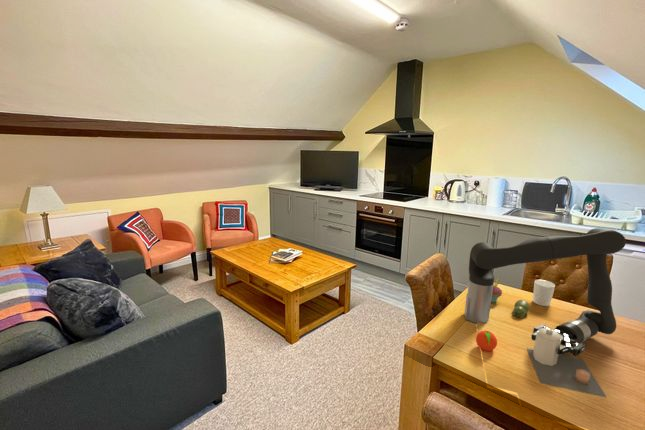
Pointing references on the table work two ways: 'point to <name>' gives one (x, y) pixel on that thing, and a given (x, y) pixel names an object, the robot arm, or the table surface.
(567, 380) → the mat
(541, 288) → the white cup
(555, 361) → the white lidded jar
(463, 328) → the table surface
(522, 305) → the pear
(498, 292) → the cupcake
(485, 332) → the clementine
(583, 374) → the peach round piece
